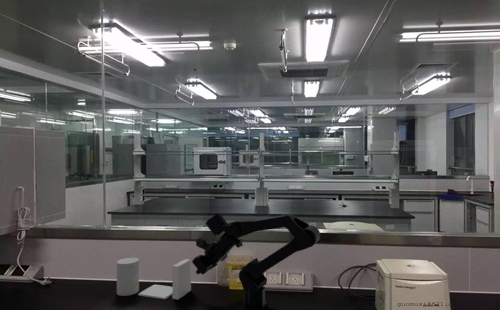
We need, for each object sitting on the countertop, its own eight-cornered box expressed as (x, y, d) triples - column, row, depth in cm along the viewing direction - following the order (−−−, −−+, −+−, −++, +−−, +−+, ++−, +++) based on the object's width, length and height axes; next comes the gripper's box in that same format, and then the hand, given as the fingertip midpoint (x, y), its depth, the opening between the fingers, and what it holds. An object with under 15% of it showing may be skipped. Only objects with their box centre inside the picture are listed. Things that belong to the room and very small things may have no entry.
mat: (179, 289, 127) (179, 287, 127) (164, 299, 117) (164, 297, 117) (154, 285, 131) (154, 284, 131) (138, 295, 121) (138, 293, 121)
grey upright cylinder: (131, 296, 121) (131, 264, 121) (112, 295, 122) (112, 263, 123) (142, 288, 128) (142, 258, 129) (124, 286, 130) (124, 257, 130)
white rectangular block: (190, 290, 125) (190, 259, 126) (178, 299, 117) (178, 266, 117) (185, 289, 126) (184, 259, 127) (172, 298, 118) (171, 265, 118)
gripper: (220, 224, 127) (195, 250, 131) (196, 234, 110) (169, 263, 113) (238, 245, 124) (213, 271, 128) (217, 259, 107) (189, 288, 110)
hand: (197, 273), depth 120 cm, fingers closed
